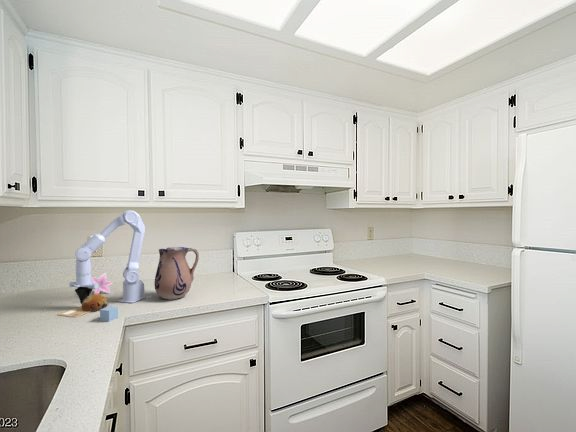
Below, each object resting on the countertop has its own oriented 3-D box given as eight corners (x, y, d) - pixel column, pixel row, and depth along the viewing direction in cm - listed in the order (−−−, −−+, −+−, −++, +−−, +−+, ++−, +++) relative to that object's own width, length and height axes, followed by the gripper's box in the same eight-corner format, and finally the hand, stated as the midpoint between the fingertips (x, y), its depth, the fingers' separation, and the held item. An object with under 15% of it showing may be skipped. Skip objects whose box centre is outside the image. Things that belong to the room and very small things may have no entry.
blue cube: (109, 316, 125) (109, 306, 125) (118, 317, 124) (118, 307, 124) (100, 320, 121) (99, 309, 121) (109, 321, 120) (109, 310, 120)
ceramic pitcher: (153, 295, 156) (153, 247, 156) (195, 289, 166) (194, 244, 165) (155, 304, 141) (155, 251, 140) (201, 298, 150) (201, 248, 150)
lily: (81, 298, 154) (85, 283, 151) (89, 284, 164) (93, 270, 162) (106, 302, 159) (111, 288, 156) (113, 288, 169) (117, 275, 166)
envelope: (90, 303, 142) (90, 302, 142) (107, 305, 140) (107, 304, 140) (57, 315, 127) (57, 314, 127) (75, 317, 124) (75, 316, 124)
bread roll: (104, 311, 141) (100, 294, 143) (114, 305, 136) (110, 288, 138) (80, 317, 133) (76, 299, 135) (89, 311, 128) (85, 293, 130)
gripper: (62, 274, 134) (63, 304, 134) (88, 276, 130) (88, 307, 131) (77, 271, 141) (77, 300, 141) (102, 273, 137) (102, 302, 138)
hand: (84, 303), depth 136 cm, fingers closed
